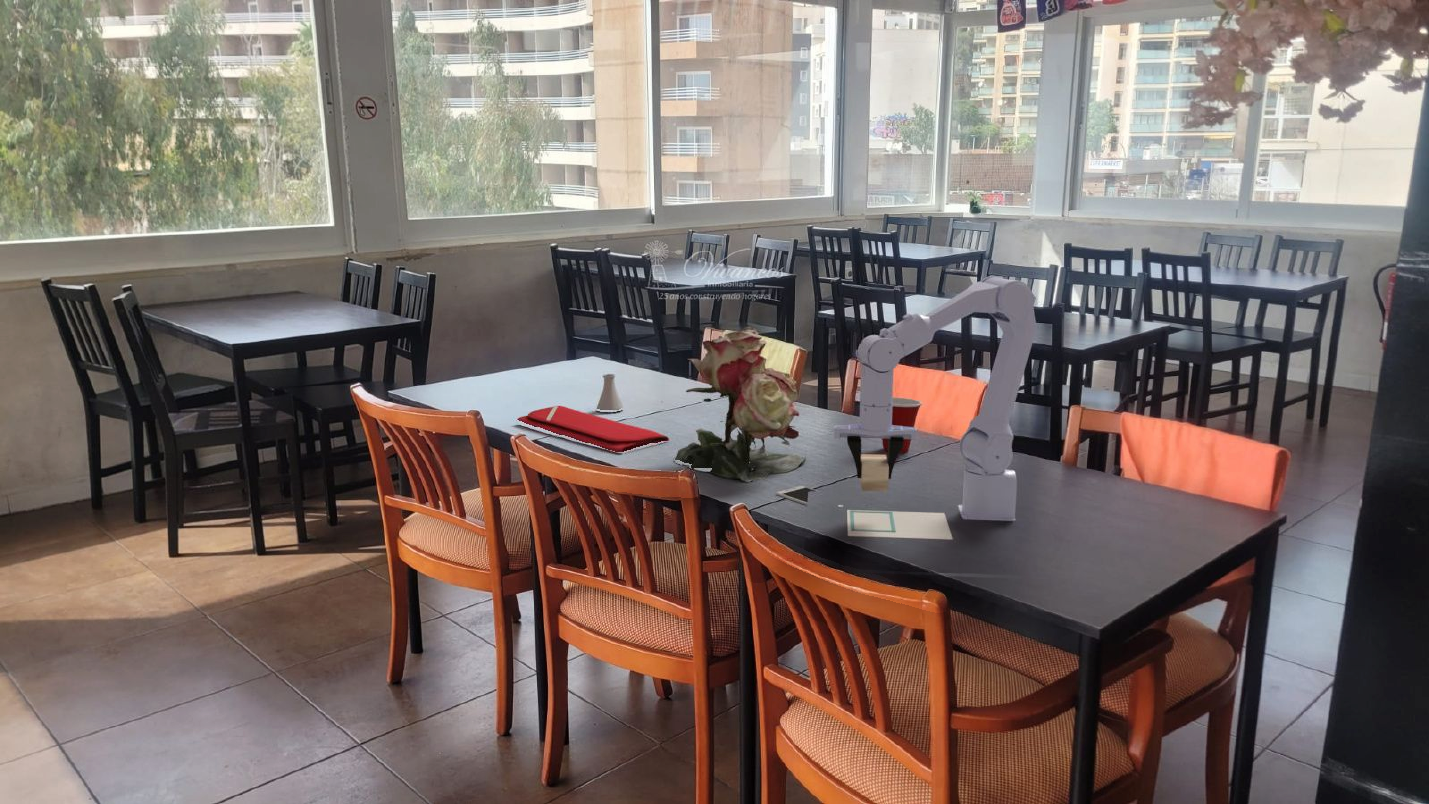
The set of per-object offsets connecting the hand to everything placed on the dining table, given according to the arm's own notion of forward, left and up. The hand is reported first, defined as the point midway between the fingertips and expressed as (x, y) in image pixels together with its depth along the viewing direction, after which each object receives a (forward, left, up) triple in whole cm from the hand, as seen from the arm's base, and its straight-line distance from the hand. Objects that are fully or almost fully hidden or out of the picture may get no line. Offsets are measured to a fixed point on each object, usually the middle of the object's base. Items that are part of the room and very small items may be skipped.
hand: (873, 477), depth 181 cm
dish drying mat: (+67, -60, -10) cm, 91 cm away
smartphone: (+10, -13, -10) cm, 19 cm away
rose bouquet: (+26, -38, -9) cm, 47 cm away
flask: (+68, -85, -9) cm, 109 cm away
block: (0, 0, -1) cm, 1 cm away
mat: (-4, +1, -9) cm, 10 cm away
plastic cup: (-8, -52, -9) cm, 53 cm away
